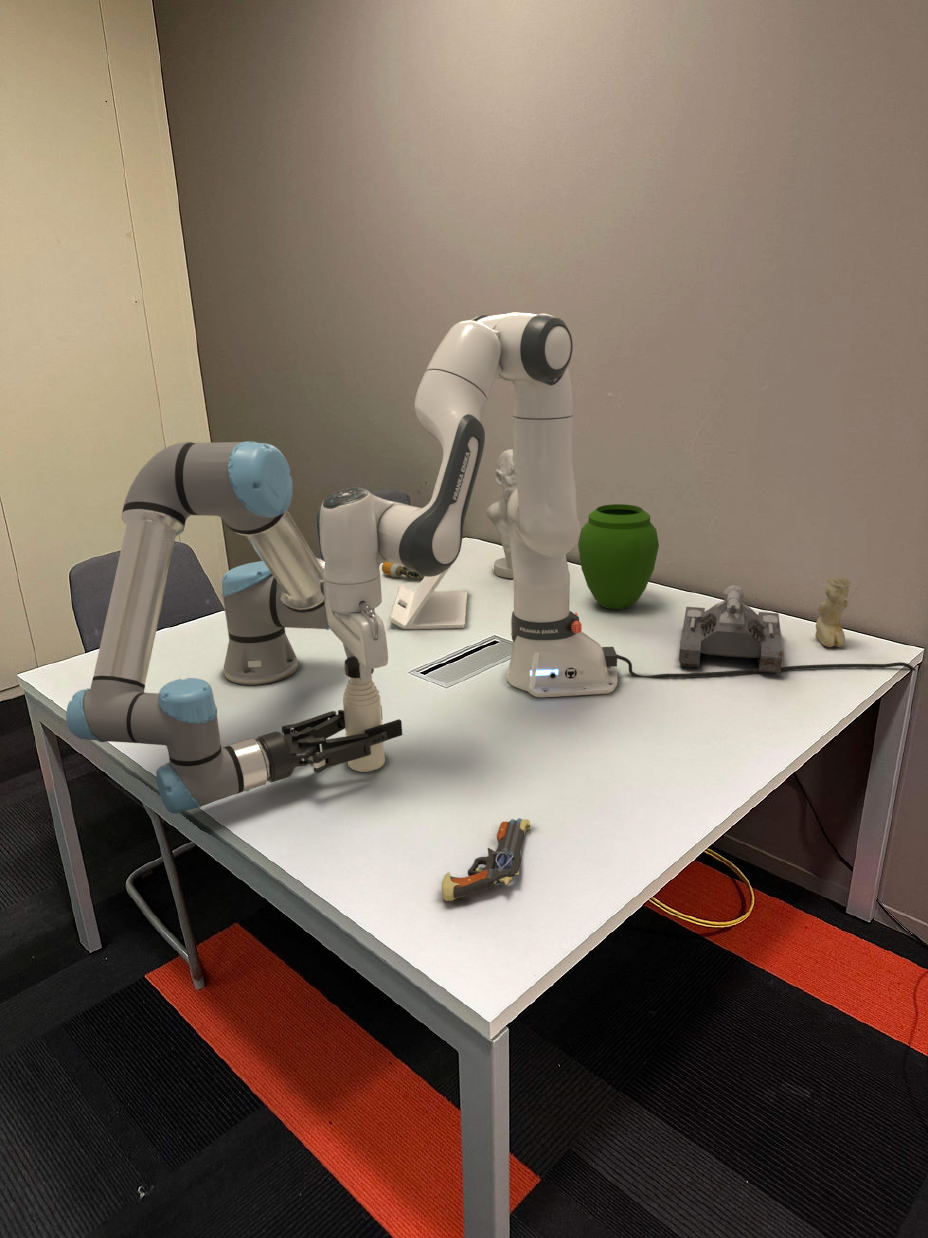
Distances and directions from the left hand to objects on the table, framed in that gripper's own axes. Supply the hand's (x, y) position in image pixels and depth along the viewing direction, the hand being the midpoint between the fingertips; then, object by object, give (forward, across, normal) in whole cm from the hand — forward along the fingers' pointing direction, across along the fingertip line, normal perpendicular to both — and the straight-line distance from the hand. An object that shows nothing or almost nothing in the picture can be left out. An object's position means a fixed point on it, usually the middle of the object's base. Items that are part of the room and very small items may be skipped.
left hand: (390, 719), depth 145 cm
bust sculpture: (+79, -65, -7) cm, 103 cm away
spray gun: (+55, -88, -7) cm, 104 cm away
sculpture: (+101, +15, -7) cm, 102 cm away
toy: (+81, +5, -7) cm, 81 cm away
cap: (-5, 0, +12) cm, 13 cm away
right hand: (-5, 0, +10) cm, 11 cm away
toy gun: (-4, +35, -7) cm, 36 cm away
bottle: (-5, 0, -7) cm, 8 cm away
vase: (+82, -32, -7) cm, 88 cm away
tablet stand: (+43, -57, -7) cm, 72 cm away
